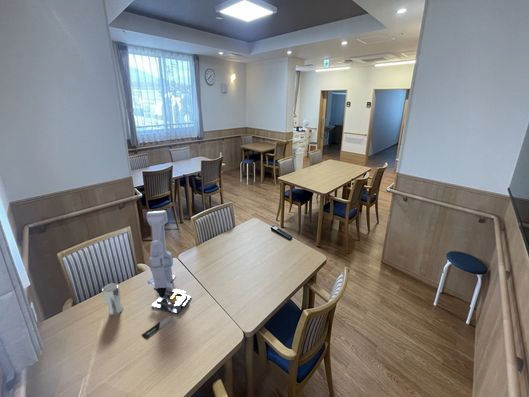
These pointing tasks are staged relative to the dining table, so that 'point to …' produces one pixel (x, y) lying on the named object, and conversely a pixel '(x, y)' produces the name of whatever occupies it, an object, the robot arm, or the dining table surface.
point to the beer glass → (112, 298)
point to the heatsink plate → (169, 307)
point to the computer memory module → (157, 327)
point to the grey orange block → (175, 299)
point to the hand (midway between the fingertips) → (162, 296)
